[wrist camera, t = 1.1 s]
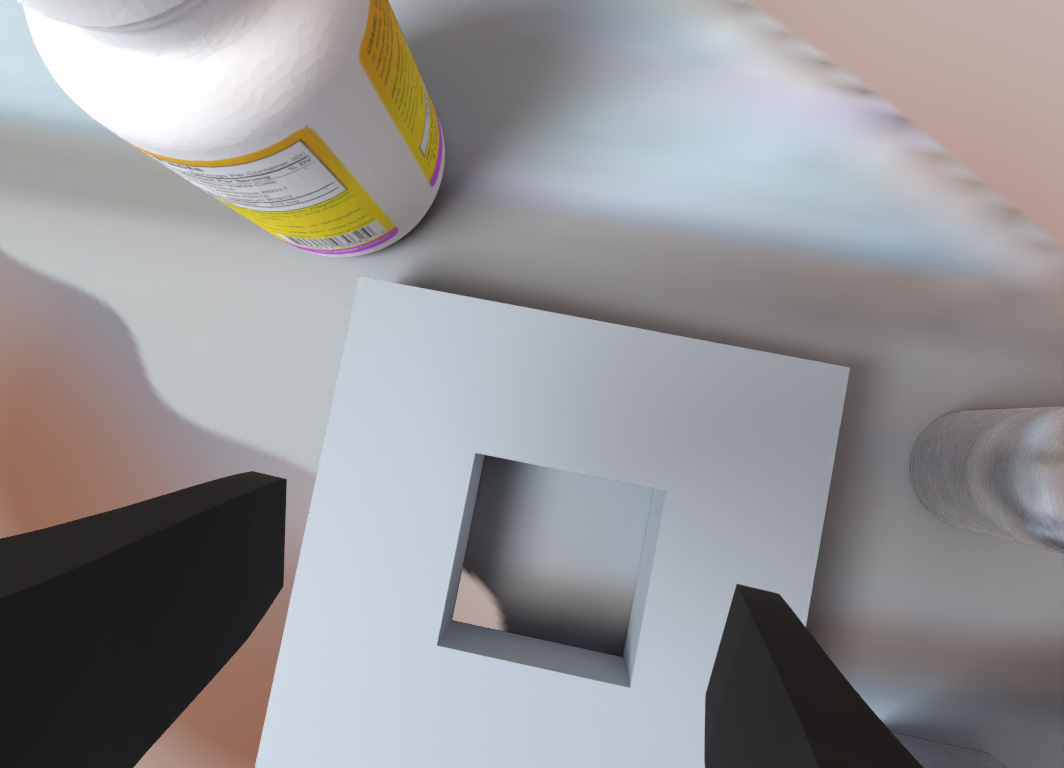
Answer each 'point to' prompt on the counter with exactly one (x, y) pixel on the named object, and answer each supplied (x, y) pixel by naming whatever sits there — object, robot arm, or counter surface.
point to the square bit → (946, 754)
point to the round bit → (995, 473)
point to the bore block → (446, 514)
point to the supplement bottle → (262, 106)
